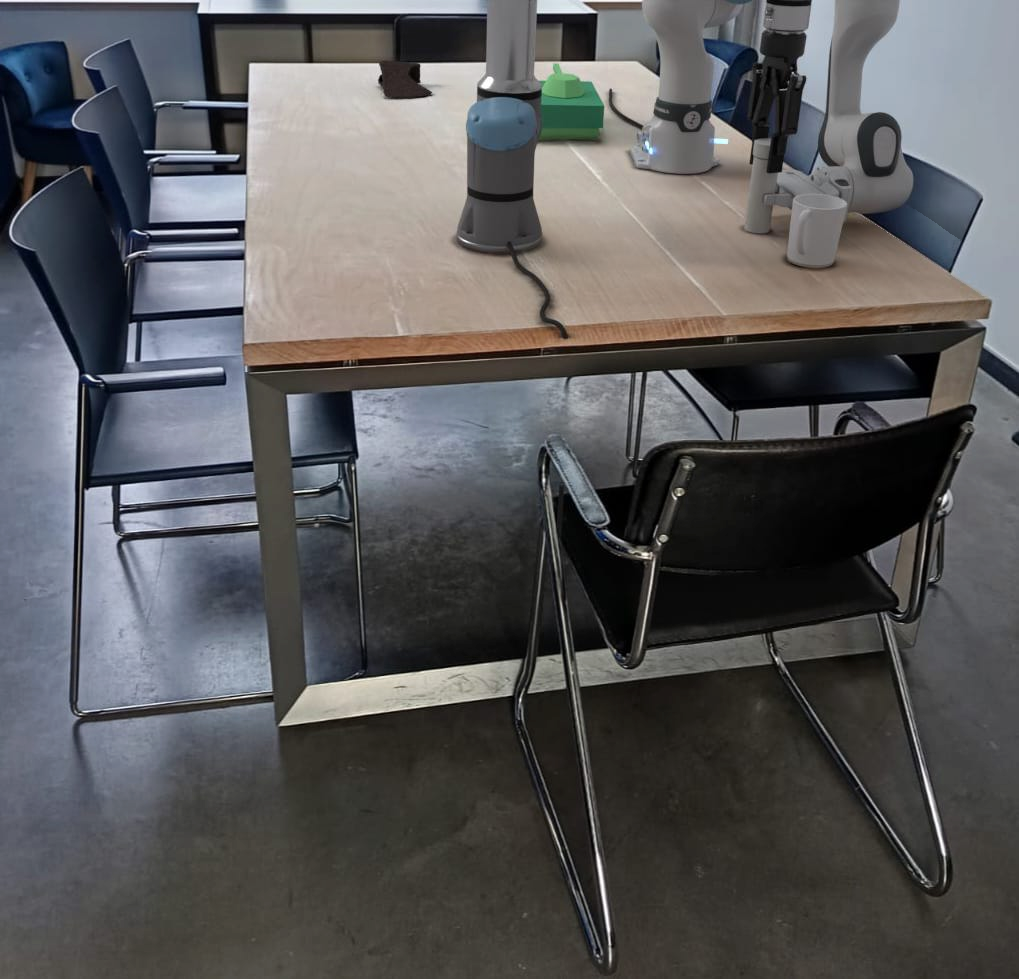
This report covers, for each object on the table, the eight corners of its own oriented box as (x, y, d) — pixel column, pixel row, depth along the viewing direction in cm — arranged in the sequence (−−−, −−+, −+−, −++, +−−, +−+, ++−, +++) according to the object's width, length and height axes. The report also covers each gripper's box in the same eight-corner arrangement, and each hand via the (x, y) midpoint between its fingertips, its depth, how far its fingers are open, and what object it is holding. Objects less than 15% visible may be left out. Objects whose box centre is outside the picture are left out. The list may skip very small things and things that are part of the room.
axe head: (443, 87, 294) (392, 77, 287) (436, 115, 299) (385, 106, 292) (421, 62, 307) (371, 52, 300) (414, 89, 311) (365, 80, 304)
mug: (798, 248, 195) (807, 190, 190) (845, 259, 190) (856, 201, 185) (769, 263, 188) (777, 204, 182) (816, 276, 183) (827, 215, 178)
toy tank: (589, 59, 279) (605, 88, 249) (586, 109, 285) (601, 143, 256) (520, 58, 278) (528, 87, 248) (518, 108, 284) (526, 142, 255)
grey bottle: (747, 233, 202) (759, 148, 194) (741, 225, 206) (752, 141, 198) (772, 233, 202) (784, 148, 194) (766, 225, 206) (778, 141, 198)
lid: (786, 158, 195) (788, 145, 194) (759, 159, 194) (761, 146, 193) (774, 150, 200) (776, 137, 198) (748, 151, 199) (749, 138, 197)
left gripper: (738, 23, 192) (722, 156, 204) (795, 40, 178) (774, 183, 190) (774, 21, 194) (756, 153, 207) (834, 38, 180) (811, 180, 192)
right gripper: (805, 159, 210) (737, 162, 207) (855, 189, 193) (782, 193, 190) (799, 192, 213) (733, 195, 211) (849, 224, 196) (777, 228, 194)
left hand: (765, 167), depth 198 cm, fingers closed on lid, 5 cm apart
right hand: (757, 194), depth 200 cm, fingers closed on grey bottle, 5 cm apart
